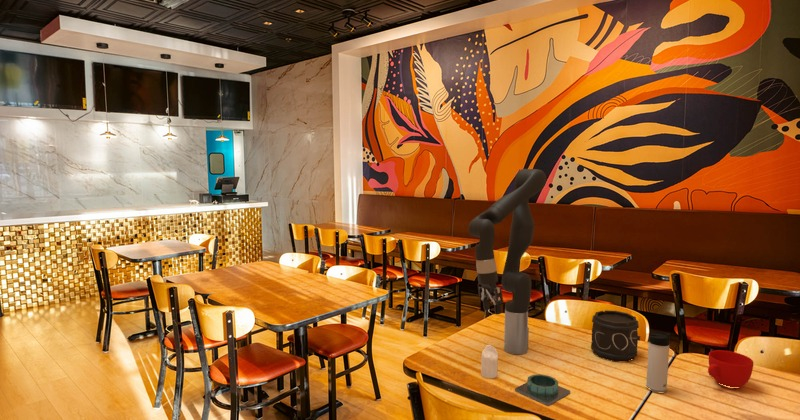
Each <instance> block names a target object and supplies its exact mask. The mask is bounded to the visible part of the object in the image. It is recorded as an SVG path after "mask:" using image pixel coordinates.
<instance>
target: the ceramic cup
mask: <svg viewBox="0 0 800 420" xmlns="http://www.w3.org/2000/svg"><path fill="white" fill-rule="evenodd" d="M753 368H754V360H753V359H752V358H750V357H749V356H747V355H745V354H742V353H739V352H735V351H731V350H723V349H722V350H720V349H718V350H715V349H714V350H711V351H709V352H708V368H707V372H708V375H709V376H710V377H711V378H713V379H714V380H715V382H718V383H720V384H723V385H726V386H730V387H740V388H742V387H744V386H745V385H746V384H748V383H749V381H750V379H751V377H752V373H753V370H754V369H753ZM718 383H717V384H718Z"/></svg>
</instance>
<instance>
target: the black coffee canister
mask: <svg viewBox="0 0 800 420" xmlns="http://www.w3.org/2000/svg"><path fill="white" fill-rule="evenodd" d="M591 319H592V320H591V322H592V328H591V344H590V349H591V350H592V352H593V354H594V355H596V356H597V355H598V356H597V357H599V358H600V357H601V358H600V359H603V358H604V360H607V359H608V360H607V361H611V360H612V361H611V362H619V361H627V362H630V361H632V360H631V359H633V360H635V358H636V357H638V343H639V342H638V341H641V336H640V335H638V334H639V332H638V330H639V328H640V324H639V320H637V317H636V316H635V315H633V314H630V313H627V312H623V311H619V310H606V309H605V310H600V311H597V312H596V311H595V313H594V315H592V318H591ZM629 360H630V361H629Z"/></svg>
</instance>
